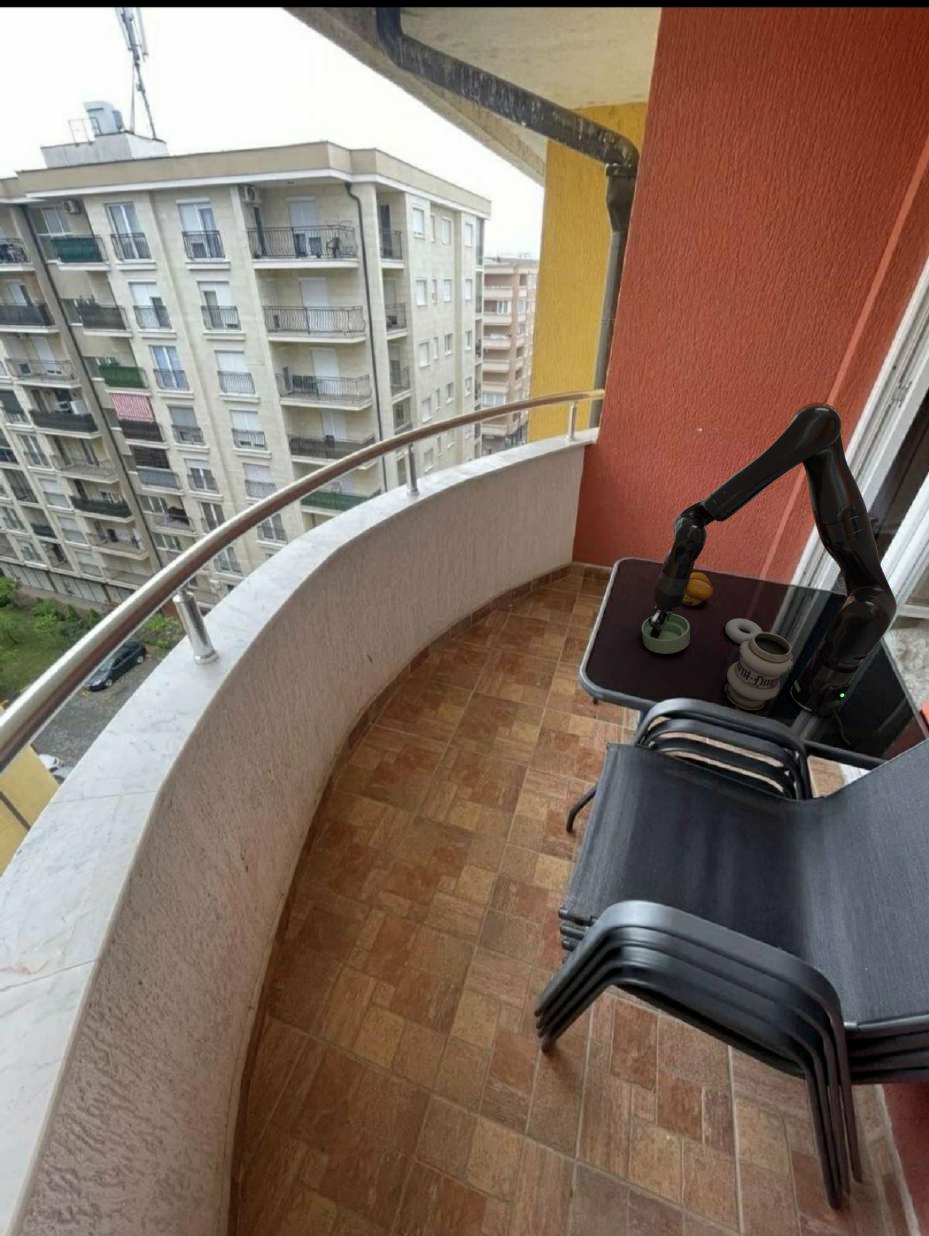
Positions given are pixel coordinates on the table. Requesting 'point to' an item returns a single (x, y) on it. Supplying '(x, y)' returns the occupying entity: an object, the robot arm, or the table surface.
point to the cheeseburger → (697, 589)
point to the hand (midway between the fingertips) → (655, 635)
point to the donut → (741, 624)
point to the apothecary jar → (758, 670)
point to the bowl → (668, 635)
